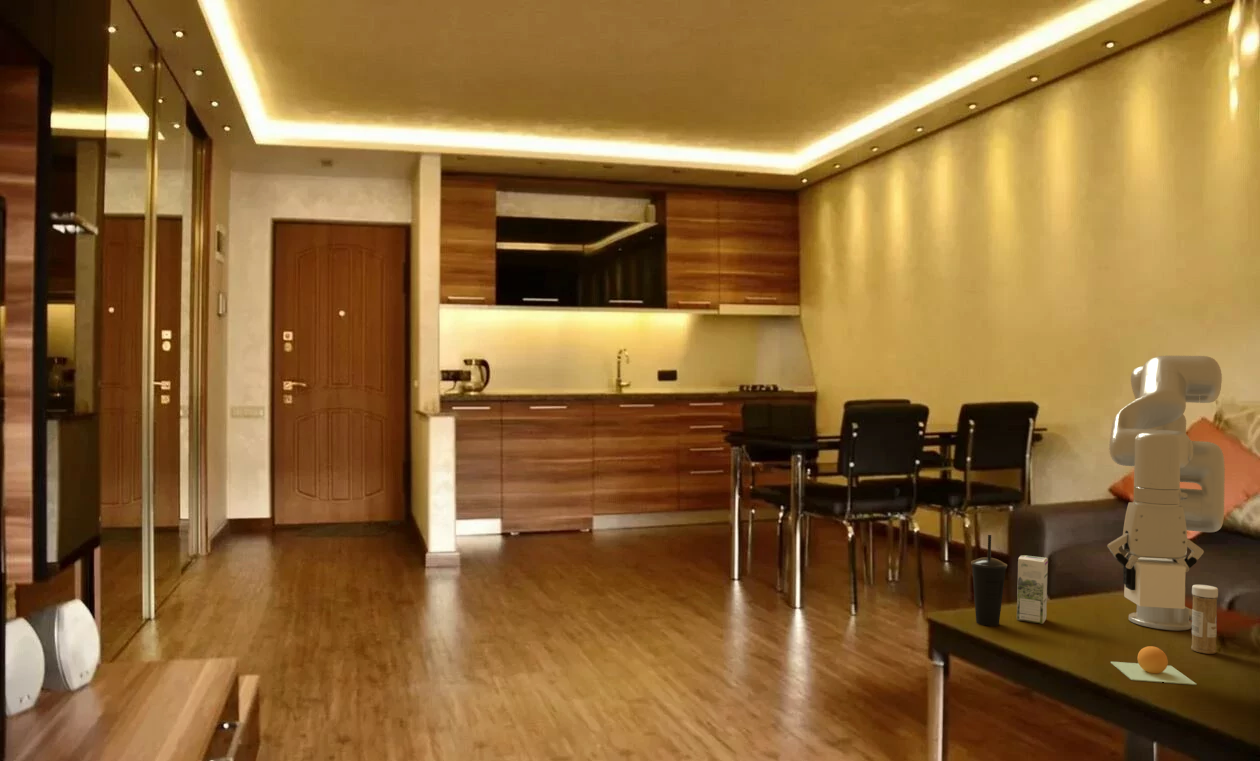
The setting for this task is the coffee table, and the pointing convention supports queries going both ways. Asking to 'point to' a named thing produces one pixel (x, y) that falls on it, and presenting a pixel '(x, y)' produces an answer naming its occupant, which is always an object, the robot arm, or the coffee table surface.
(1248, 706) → the coffee table surface
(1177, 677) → the mark
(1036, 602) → the syrup box
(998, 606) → the drinking cup
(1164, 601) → the cream matte cube
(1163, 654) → the ball
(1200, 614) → the sprinkles bottle
